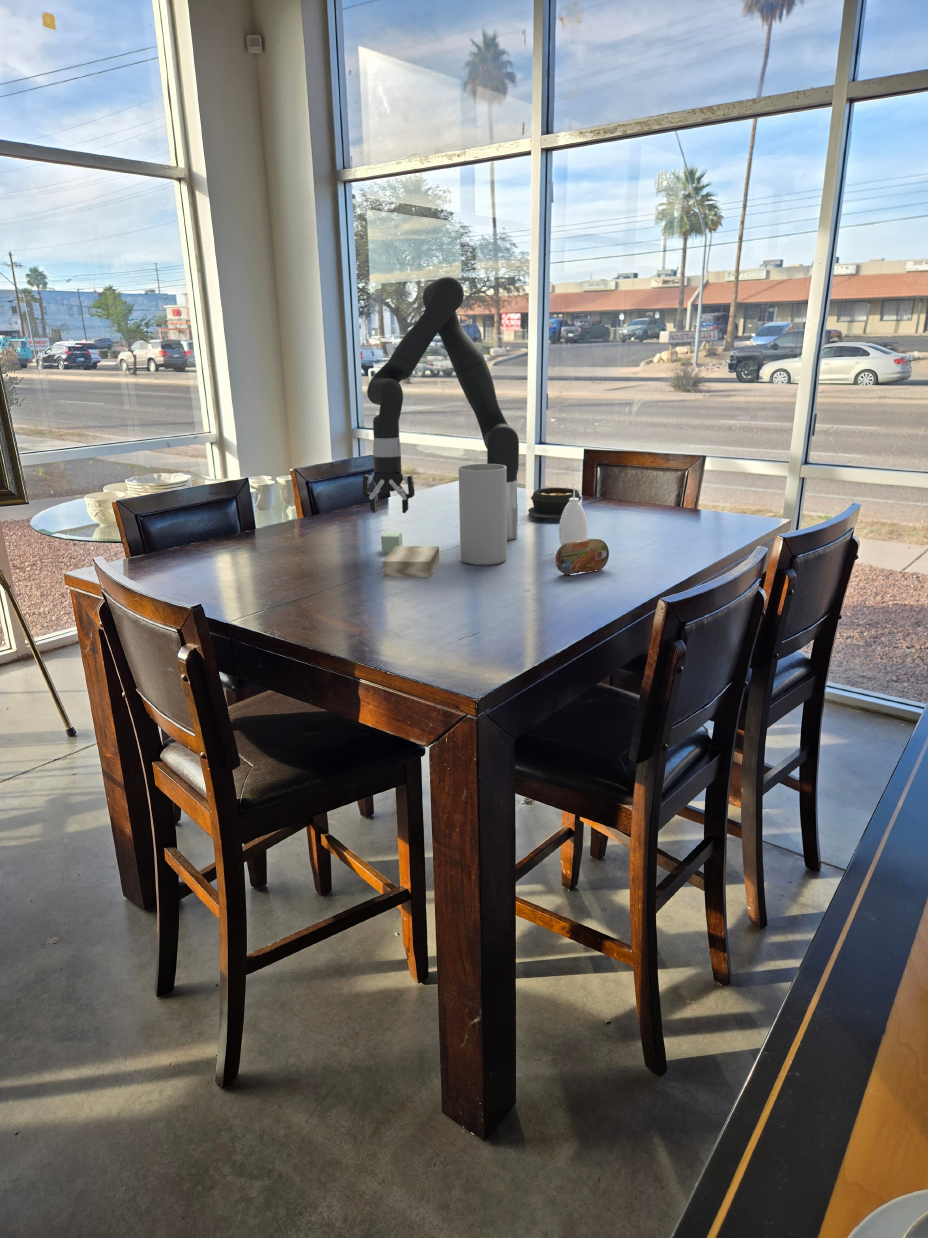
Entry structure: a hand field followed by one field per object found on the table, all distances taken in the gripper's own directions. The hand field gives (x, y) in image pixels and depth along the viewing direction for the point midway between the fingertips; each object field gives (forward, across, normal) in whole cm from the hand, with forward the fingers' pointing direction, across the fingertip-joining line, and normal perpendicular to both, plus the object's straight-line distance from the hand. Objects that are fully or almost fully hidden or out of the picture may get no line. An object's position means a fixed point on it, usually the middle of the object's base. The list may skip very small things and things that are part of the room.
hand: (389, 512), depth 224 cm
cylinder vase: (+11, -28, +9) cm, 31 cm away
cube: (+11, 0, 0) cm, 11 cm away
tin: (+11, -54, +20) cm, 58 cm away
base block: (+11, -10, +18) cm, 23 cm away
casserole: (+11, -46, -50) cm, 69 cm away
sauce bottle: (+11, -52, +1) cm, 53 cm away
